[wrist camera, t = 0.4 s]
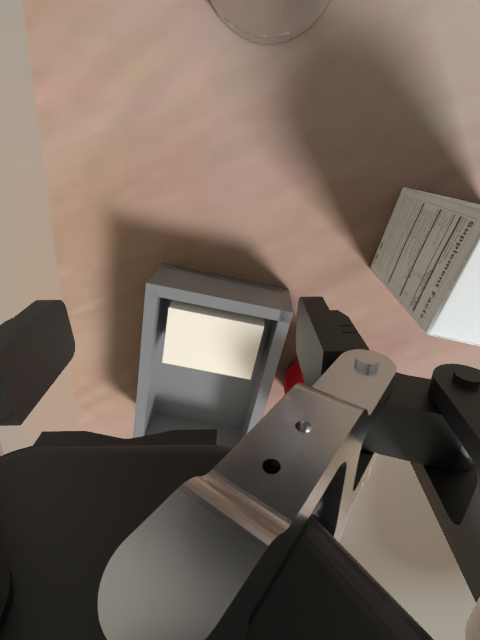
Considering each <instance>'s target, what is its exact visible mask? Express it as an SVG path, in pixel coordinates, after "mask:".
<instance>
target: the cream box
mask: <svg viewBox="0 0 480 640" xmlns="http://www.w3.org/2000/svg"><path fill="white" fill-rule="evenodd" d="M263 330H264V318H260V317H256V316H251V315H246V314H241V313H236V312H231V311H226V310H221V309H216V308H211V307H206V306H201V305H196V304H191V303H186V302H181V301H176V300H172V302H171V304H170V306H169V308H168V317H167V325H166V334H165V342H164V351H163V359H162V363H167V364H172V365H177V366H182V367H188V368H193V369H198V370H203V371H208V372H213V373H219V374H224V375H229V376H234V377H239V378H244V379H249V380H250V379H251V376H252V372H253V368H254V364H255V360H256V357H257V353H258V349H259V345H260V341H261V338H262V334H263Z"/></svg>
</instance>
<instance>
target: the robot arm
mask: <svg viewBox="0 0 480 640" xmlns="http://www.w3.org/2000/svg"><path fill="white" fill-rule="evenodd" d="M329 1H330V0H210V3H211V5H212V6H213V8H214V10H215V11H216V13H217V15H218V16H219V18H220V19H221V20H222V21H223V22H224V23H225V24H226V26H227V27H228V28H229V29H230V30H231V31H233V32H234V33H236V34H237V35H239V36H240V37H241V38H243V39H246V40H249V41H251V42H254V43H258V44H268V45H270V44H277V43H283V42H286V41H288V40H290V39H293V38H295V37H297V36H299V35H300V34H301V33H303V32H304V31H305V30H307V29H308V28H309V27H311V25H312V24H313V23H314V22H315V21H316V20H317V19H318V18H319V17H320V15H321V14H322V13H323V11H324V10H325V8H326V6H327V5H328V3H329ZM74 352H75V341H74V337H73V333H72V329H71V325H70V321H69V318H68V314H67V310H66V307H65V304H64V303H63V302H62V301H61V300H36V301H35V302H33V303H32V304H31V305H29V306H28V307H27V308H26V309H24V310H23V311H22V312H20V313H19V314H18V315H16V316H15V317H14V318H12V319H10V320H8V321H5V322H4V323H3V324H2V325H0V425H2V426H3V425H21V424H22V423H23V421H24V420H25V419H26V417H27V416H28V415H29V414H30V412H31V411H32V410H33V408H34V407H35V406H36V404H37V403H38V402H39V401H40V399H41V398H42V397H43V395H44V394H45V393H46V392H47V390H48V389H49V388H50V386H51V385H52V384H53V383H54V381H55V380H56V379H57V377H58V376H59V375H60V373H61V372H62V371H63V369H64V368H65V367H66V366H67V364H68V363H69V362H70V360H71V359H72V358H73V355H74ZM296 353H297V357H298V361H299V364H300V368H301V372H302V375H303V379H304V382H305V384H303V383H297V384H296V385H295V386H293V387H292V388H291V390H290V391H289V392H288V393H287V394H286V395H285V396H284V397H283V398H282V399H281V400H280V401H279V402H278V403H277V404H276V405H275V406H274V407H273V408H272V409H271V410H270V411H269V412H268V413H267V414H266V415H265V416H264V417H263V418H262V419H261V420H260V421H259V422H258V423H257V424H256V425H255V426H254V427H253V428H252V429H251V430H250V431H249V432H248V433H247V434H246V435H245V436H244V437H243V438H242V439H241V441H240V442H239V443H238V444H237V445H236V446H235V447H232V446H229V445H225V444H222V443H218V433H217V429H199V430H171V431H166V432H161V433H156V434H151V435H146V436H141V437H136V438H131V439H122V438H117V437H112V436H107V435H102V434H97V433H92V432H87V431H60V432H42V433H41V435H40V436H39V438H38V439H37V441H36V442H35V443H34V445H33V446H30V447H27V448H23V449H19V450H16V451H13V452H10V453H7V454H5V455H3V450H2V446H1V441H0V640H433V639H432V637H431V636H430V635H429V634H428V633H427V632H426V631H425V630H424V629H423V628H422V627H421V626H420V625H419V624H418V623H417V622H416V621H415V620H414V619H413V618H412V617H411V616H410V615H409V614H408V613H407V612H406V611H405V610H404V609H403V608H402V607H401V605H400V604H399V603H398V602H397V601H396V600H395V599H394V598H393V597H392V596H391V595H390V594H389V593H388V592H387V591H386V590H385V589H384V588H383V587H382V586H381V585H380V584H379V583H378V582H377V581H376V580H375V579H374V578H373V577H372V576H371V575H370V574H369V573H368V572H367V571H366V570H365V569H364V568H363V567H362V566H361V565H360V564H359V563H358V562H357V560H356V559H355V558H354V557H353V556H351V554H350V553H348V551H347V550H346V549H345V548H344V547H343V546H342V545H341V544H340V543H339V540H340V537H341V535H342V532H343V530H344V527H345V524H346V521H347V518H348V515H349V512H350V509H351V507H352V504H353V502H354V500H355V498H356V496H357V494H358V492H359V490H360V488H361V486H362V484H363V482H364V480H365V478H366V476H367V474H368V472H369V470H370V468H371V466H372V464H373V462H374V460H375V458H376V456H377V454H382V455H387V456H391V457H395V458H399V459H403V460H407V461H410V462H411V465H412V467H413V469H414V471H415V473H416V475H417V477H418V480H419V482H420V484H421V486H422V488H423V490H424V492H425V495H426V496H427V499H428V501H429V503H430V505H431V507H432V510H433V511H434V514H435V516H436V518H437V520H438V522H439V525H440V527H441V529H442V531H443V533H444V535H445V537H446V539H447V541H448V544H449V546H450V548H451V550H452V552H453V554H454V557H455V558H456V561H457V563H458V565H459V567H460V569H461V572H462V573H463V576H464V578H465V580H466V582H467V584H468V586H469V589H470V591H471V593H472V595H473V597H474V599H475V601H476V605H475V606H474V608H473V610H472V612H471V614H470V616H469V617H468V620H467V623H466V627H465V638H466V640H480V370H478V369H475V368H472V367H469V366H465V365H459V364H444V365H440V366H438V367H436V368H435V369H434V371H433V374H432V378H431V379H426V378H420V377H414V376H408V375H404V374H400V373H397V372H396V365H395V364H394V362H393V361H392V360H391V359H389V358H388V357H386V356H385V355H382V354H380V353H378V352H374V351H370V350H369V348H368V347H367V345H366V344H365V342H364V340H363V339H362V337H361V336H360V334H359V333H358V331H357V330H356V328H355V327H354V325H353V323H352V322H351V320H350V319H349V317H348V316H346V315H344V314H343V313H341V312H340V311H338V310H329V308H328V306H327V304H326V303H325V301H324V299H323V297H300V298H299V302H298V314H297V329H296Z"/></svg>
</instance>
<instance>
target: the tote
mask: <svg viewBox="0 0 480 640" xmlns="http://www.w3.org/2000/svg"><path fill="white" fill-rule="evenodd" d="M172 300H176V301H181V302H186V303H191V304H196V305H201V306H206V307H211V308H216V309H221V310H226V311H231V312H236V313H241V314H246V315H251V316H256V317H260V318H264V330H263V334H262V338H261V341H260V345H259V349H258V353H257V357H256V360H255V364H254V368H253V372H252V376H251V379H250V380H249V379H244V378H239V377H234V376H229V375H224V374H219V373H213V372H208V371H203V370H198V369H193V368H188V367H182V366H177V365H172V364H167V363H162V359H163V351H164V342H165V334H166V325H167V317H168V308H169V306H170V304H171V302H172ZM292 316H293V308H292V303H291V298H290V293H289V290H287V289H283V288H278V287H273V286H268V285H263V284H258V283H254V282H249V281H244V280H239V279H234V278H229V277H224V276H220V275H215V274H210V273H205V272H200V271H195V270H191V269H186V268H181V267H176V266H171V265H166V264H161V265H160V266H159V267H158V269H157V270H156V271H155V272H154V273H153V275H152V276H151V277H150V278H149V280H148V281H147V282H146V288H145V300H144V312H143V324H142V337H141V349H140V361H139V373H138V386H137V398H136V410H135V422H134V435H133V438H136V437H141V436H146V435H151V434H156V433H161V432H166V431H171V430H199V429H217V433H218V443H222V444H225V445H229V446H232V447H235V446H236V445H237V444H238V443H239V442H240V441H241V439H242V438H243V437H244V436H245V435H246V434H247V433H248V432H249V431H250V430H251V429H252V428H253V427H254V426H255V425H256V424H257V423H258V422H259V421H260V420H261V419H262V416H263V413H264V410H265V406H266V403H267V400H268V396H269V393H270V390H271V386H272V383H273V380H274V376H275V373H276V370H277V366H278V363H279V360H280V356H281V353H282V350H283V346H284V343H285V340H286V336H287V333H288V329H289V326H290V323H291V319H292Z"/></svg>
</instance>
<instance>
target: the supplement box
mask: <svg viewBox="0 0 480 640" xmlns="http://www.w3.org/2000/svg"><path fill="white" fill-rule="evenodd" d="M370 269H371V270H372V272H373V273H374V274H375V275H376V276H377V277H378V278H379V279H380V281H381V282H382V283H383V284H384V285H385V286H386V287H387V289H388V290H389V291H390V292H391V293H392V294H393V296H394V297H395V298H396V299H397V300H398V301H399V302H400V304H401V305H402V306H403V307H404V308H405V309H406V310H407V312H408V313H409V314H410V315H411V316H412V317H413V319H414V320H415V321H416V322H417V323H418V324H419V325H420V327H421V328H422V329H423V330H424V331H425V332H426V333H427V334H428V335H431V336H436V337H440V338H445V339H450V340H454V341H459V342H463V343H468V344H472V345H477V346H480V204H476V203H472V202H467V201H463V200H459V199H455V198H450V197H446V196H441V195H436V194H432V193H427V192H423V191H418V190H414V189H410V188H406V187H403V188H402V191H401V193H400V196H399V198H398V200H397V203H396V205H395V208H394V210H393V212H392V215H391V218H390V220H389V223H388V225H387V227H386V230H385V232H384V235H383V237H382V240H381V242H380V245H379V247H378V250H377V252H376V255H375V257H374V260H373V262H372V265H371V268H370Z"/></svg>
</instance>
